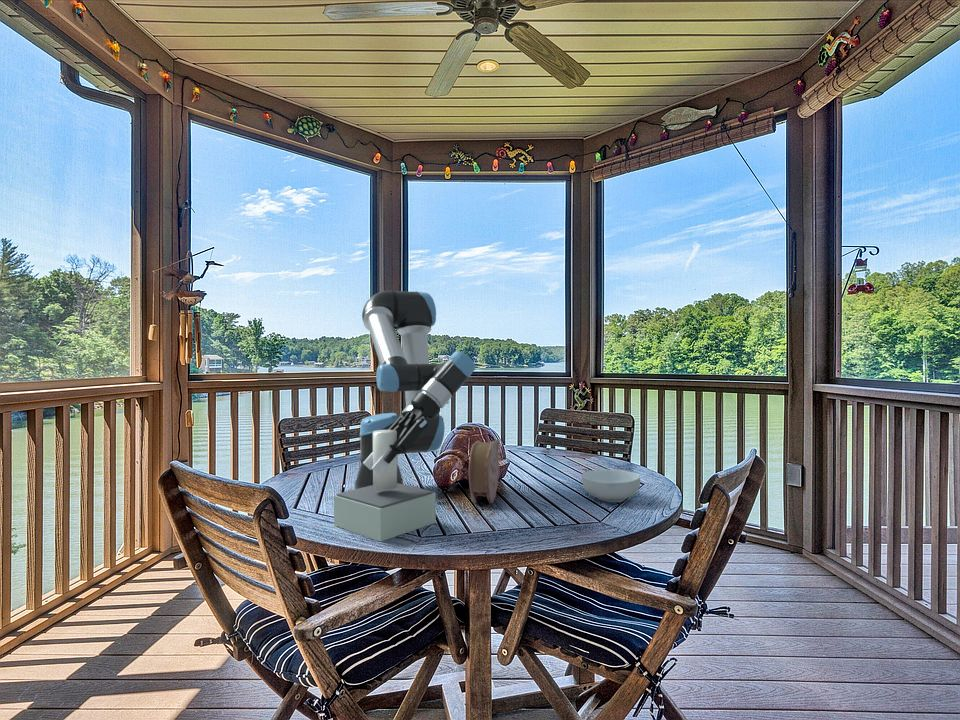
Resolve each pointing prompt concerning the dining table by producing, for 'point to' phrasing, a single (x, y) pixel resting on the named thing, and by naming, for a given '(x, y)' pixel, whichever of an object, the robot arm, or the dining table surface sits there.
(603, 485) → the cereal bowl
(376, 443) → the post
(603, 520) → the dining table surface
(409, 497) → the block
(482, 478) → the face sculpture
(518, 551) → the dining table surface
